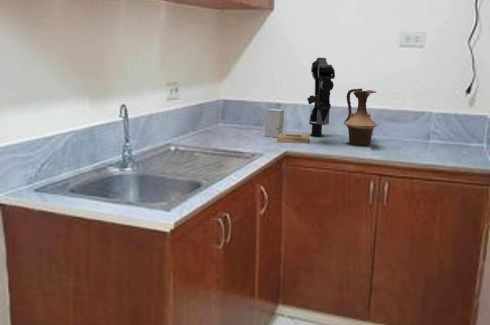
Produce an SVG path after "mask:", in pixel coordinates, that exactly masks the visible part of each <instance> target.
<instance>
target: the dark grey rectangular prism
mask: <svg viewBox="0 0 490 325" xmlns="http://www.w3.org/2000/svg"><path fill="white" fill-rule="evenodd" d="M316 123H317V124H326V125H327V126H328V125H330V110H329V112H328V114H327V116H326V118H325V120H324V121H322V118H321V111H320V110H317V122H316Z"/></svg>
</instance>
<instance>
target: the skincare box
mask: <svg viewBox="0 0 490 325" xmlns="http://www.w3.org/2000/svg"><path fill="white" fill-rule="evenodd" d="M284 117H285V110H283V109H276V108H267V110H266V118H265V119H266V120H265V130H264V135H265V137H271V138H277V137H278V135H279V133H282V134H283V132H284V130H283V129H284V120H285V118H284Z"/></svg>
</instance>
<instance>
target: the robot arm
mask: <svg viewBox="0 0 490 325" xmlns="http://www.w3.org/2000/svg"><path fill="white" fill-rule="evenodd" d="M310 67H311V68H310V71H311V75H312V76H311V77H312V78H313V80H314V95H313V94H312V95H309V97H307V98H306V100H307V102H308V105H312V104H314V106H313V108H312V110H311V112H310V115H309V120H308V124H309V125H310V126H311V132H310V137H311V136H312V137H323V126H326V125H327V124H317V110H320V111H321V118H322V121H324V120H325V118H326V116H327V114H328V112H329V111H330V110H331V107H332V106H331V105H332V104H331V103H330V102H331V101H330V100H331V98H330V97H331V91H332V90H333V89H334V82H333V81H332V80H335V78H336V72H335V70H336V69H335V67H333V65H332V64H328V61H327V58H326V57H317V58H316V60H314V61H313V62H312V63H311V66H310ZM329 113H330V112H329Z"/></svg>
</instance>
